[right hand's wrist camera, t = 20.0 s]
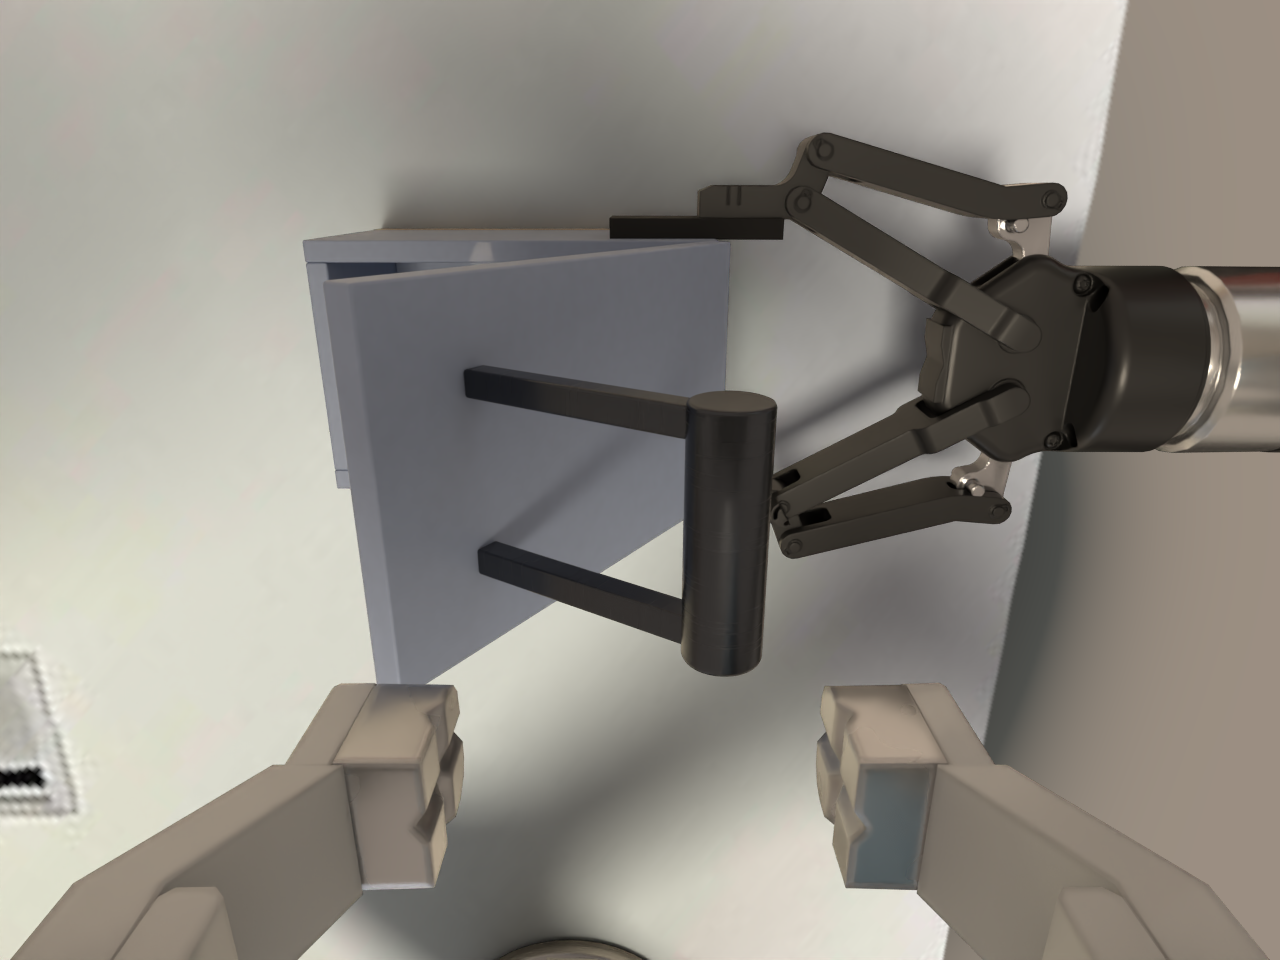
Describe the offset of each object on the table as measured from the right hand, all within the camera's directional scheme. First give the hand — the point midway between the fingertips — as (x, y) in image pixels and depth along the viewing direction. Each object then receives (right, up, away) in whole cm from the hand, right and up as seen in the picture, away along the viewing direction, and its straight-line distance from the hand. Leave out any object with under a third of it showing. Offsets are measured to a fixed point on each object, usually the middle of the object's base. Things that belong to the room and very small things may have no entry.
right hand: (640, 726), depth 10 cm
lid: (-2, +5, +13) cm, 14 cm away
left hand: (-1, +8, +22) cm, 24 cm away
